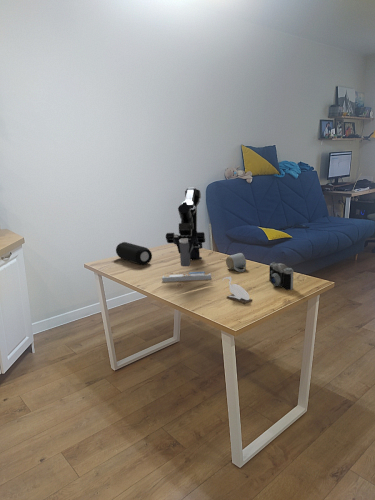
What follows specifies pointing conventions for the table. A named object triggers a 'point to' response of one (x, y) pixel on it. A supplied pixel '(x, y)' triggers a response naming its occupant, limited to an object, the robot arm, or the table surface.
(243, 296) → the figurine
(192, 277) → the white tray
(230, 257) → the ceramic mug
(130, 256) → the portable speaker
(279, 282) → the camera
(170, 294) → the table surface
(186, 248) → the grey upright cylinder
